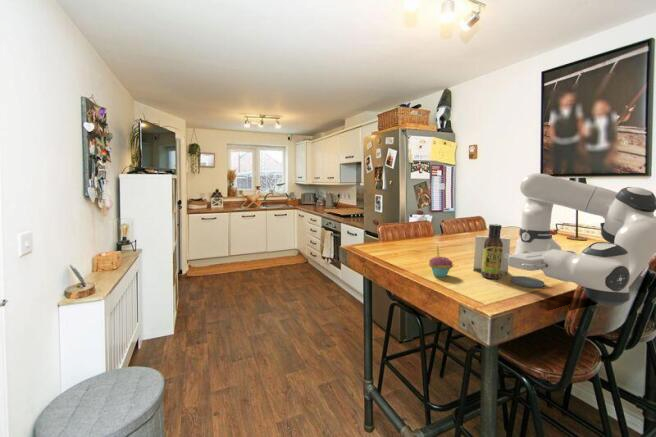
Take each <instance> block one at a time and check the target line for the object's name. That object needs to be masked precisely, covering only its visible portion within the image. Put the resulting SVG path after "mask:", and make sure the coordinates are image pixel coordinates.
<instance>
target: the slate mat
mask: <svg viewBox="0 0 656 437" xmlns="http://www.w3.org/2000/svg"><path fill="white" fill-rule="evenodd" d="M510 282H511V283H512V284H514V285H516V286H519V285H520V286H519V287H523V286H525V287H524V288H529V287H531V288H532V289H541V288H543V286H544V287H545V281H543V280H541V279H538V278H535V277H530V276H522V275H515V276H511V277H510ZM531 288H530V289H531Z"/></svg>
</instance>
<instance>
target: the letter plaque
mask: <svg viewBox="0 0 656 437" xmlns="http://www.w3.org/2000/svg"><path fill="white" fill-rule="evenodd" d="M488 237H489V236H485V235H475V241H474V256H473V272H480V273H482V260H483V250H484V243H485V241H486V239H487V238H488ZM500 239H501V241H502V244H503V246H502V258H501V268H500V273H499V275H508V274H509V273H508V272H509V265H508V259H505V258H504V254H506V253H509V254H510V251H511V250H510V249H511V248H510V247H511V238H510V237H500Z"/></svg>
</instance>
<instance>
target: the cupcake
mask: <svg viewBox="0 0 656 437" xmlns="http://www.w3.org/2000/svg"><path fill="white" fill-rule="evenodd" d="M436 253H437V254H436V255H437V256H435V257H432V258H431V259H428V260H429V261H428V266H429V267H431V270H432V274H433V276H435V277H437V276H438V278H445V277H447V276H448V273H449V271H450V269H452V268H453V267H454V266H453V261H451V260H450V259H449V258H448V257H446V256H440V250H439V246H438V244H436Z"/></svg>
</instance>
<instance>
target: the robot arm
mask: <svg viewBox="0 0 656 437" xmlns="http://www.w3.org/2000/svg"><path fill="white" fill-rule="evenodd" d="M519 190H520V193H522V195H523V196H525V197H526V198H525V201H524V206H523V209H522V212H521V224H520V228H519V232H518V234H519V238H517V240H516V241H517V242H516V245H515V251H514V252H513V253H510V252H509V253H506V254H504V258H505V259H508V267H511V268H514V269H519V270H523V271H530V272H531V271H532V272H535V271H540V270H541V271H542V272H543V274H544V275H545V276H546V277H548V278H551V279H555V280H558V281H562V282H566V283H567V282H569V283H573V284H575V285H578V286H579V287H584V294H585V295H586V296H587V297H588V299H589V300H591V301H592V302H594V303H595V304H597V305H599V306H603V307H607V308H615V307H619V306H621V305H624V304H626V303H627V302H628V301H630V299H631V296H630V295H631V294H630V293H631V292H630V291H631V289H632V287H633V286H634V285H635V283H636V282H637V281H638V280H639V278H640V277H641V276H642V274H643V272H644V271H645V269H646V268H647V266H648V265H649V263H650V262H651V260H652V259H653V258H654V257H655V255H656V216H655V214H654V212H656V196H655V194H654V192H653V191H652V190H651V191H650V190H648V189H646V188H643V187H639V186H638V187H637V186H627V187H624V188H621V189H620V190H619V191H618V192H617V191H615V190H611V189H607V188H605V187H602V186H597V185H593V184H588V183H584V182H580V181H574V180H572V179H571V180H570V179H565V178H561V177H560V178H559V177H556V176H552V175H550V174H547V173H531V174H529V175H527V176H526V177H524V178H523V179H522V181H521V182H520V184H519ZM554 205H556V206H561V207H564V208H565V207H566V208H568V209H570V210H571V209H572V210H576V211H579V212H583V213H587V214H591V215H595V216H599V217H602V218H603V219H604V222H601V223H600V234H601V235H600V236H601V237H602V238H603V240H604V241H605V242H604V241H598V242H597V241H596V242H593V243H591V244H590V245H588V246H586V248H584V249H583V250H582V251H581V253H579V254H577V252H576V251H573V250H562V247H561V246H560V245H559V244H558V243H557V242H556V241H555V240H554V239H553V236H556V234H557V232H556V230H551V223H552V212H553V208H554Z"/></svg>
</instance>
